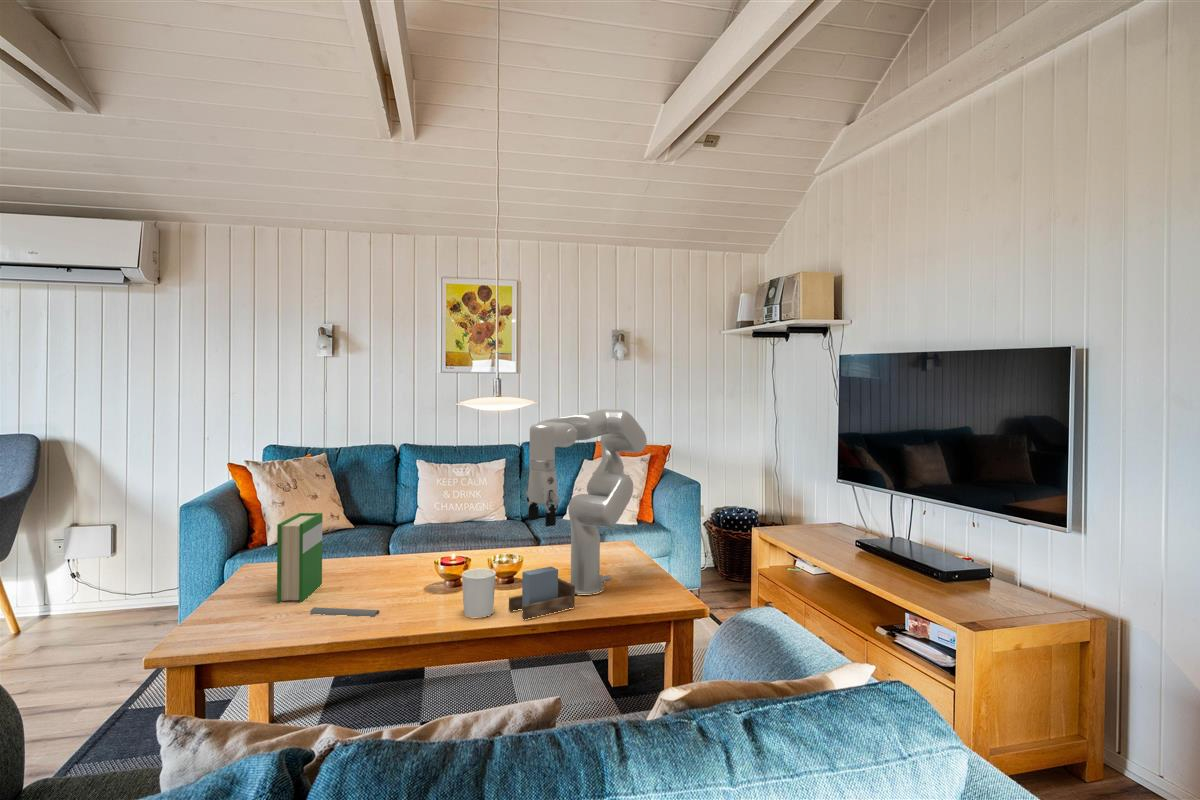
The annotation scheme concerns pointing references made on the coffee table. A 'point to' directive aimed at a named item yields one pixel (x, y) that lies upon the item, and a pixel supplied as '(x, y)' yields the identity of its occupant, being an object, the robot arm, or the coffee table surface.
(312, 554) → the hardback book
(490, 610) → the grey cylinder
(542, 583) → the slate-blue book
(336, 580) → the coffee table surface
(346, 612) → the gray half cylinder
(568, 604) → the book rack
